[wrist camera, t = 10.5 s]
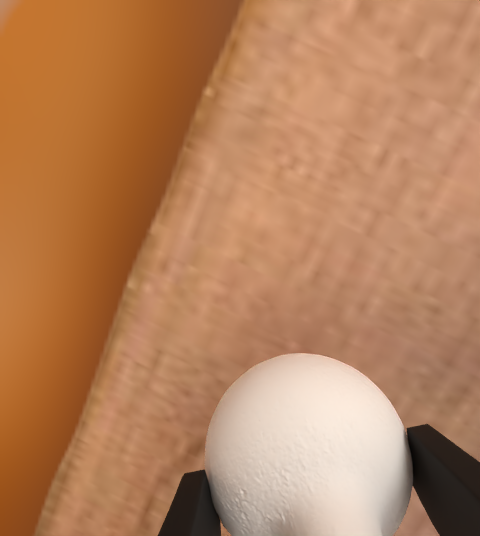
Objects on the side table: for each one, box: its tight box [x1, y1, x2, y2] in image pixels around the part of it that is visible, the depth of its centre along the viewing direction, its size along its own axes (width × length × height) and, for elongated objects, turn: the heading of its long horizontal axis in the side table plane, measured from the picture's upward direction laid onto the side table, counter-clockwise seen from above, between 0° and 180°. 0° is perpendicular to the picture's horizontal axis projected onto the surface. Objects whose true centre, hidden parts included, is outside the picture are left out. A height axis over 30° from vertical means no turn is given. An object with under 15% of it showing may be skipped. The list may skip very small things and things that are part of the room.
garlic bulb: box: [205, 353, 413, 536], centre depth 8 cm, size 6×6×8 cm
